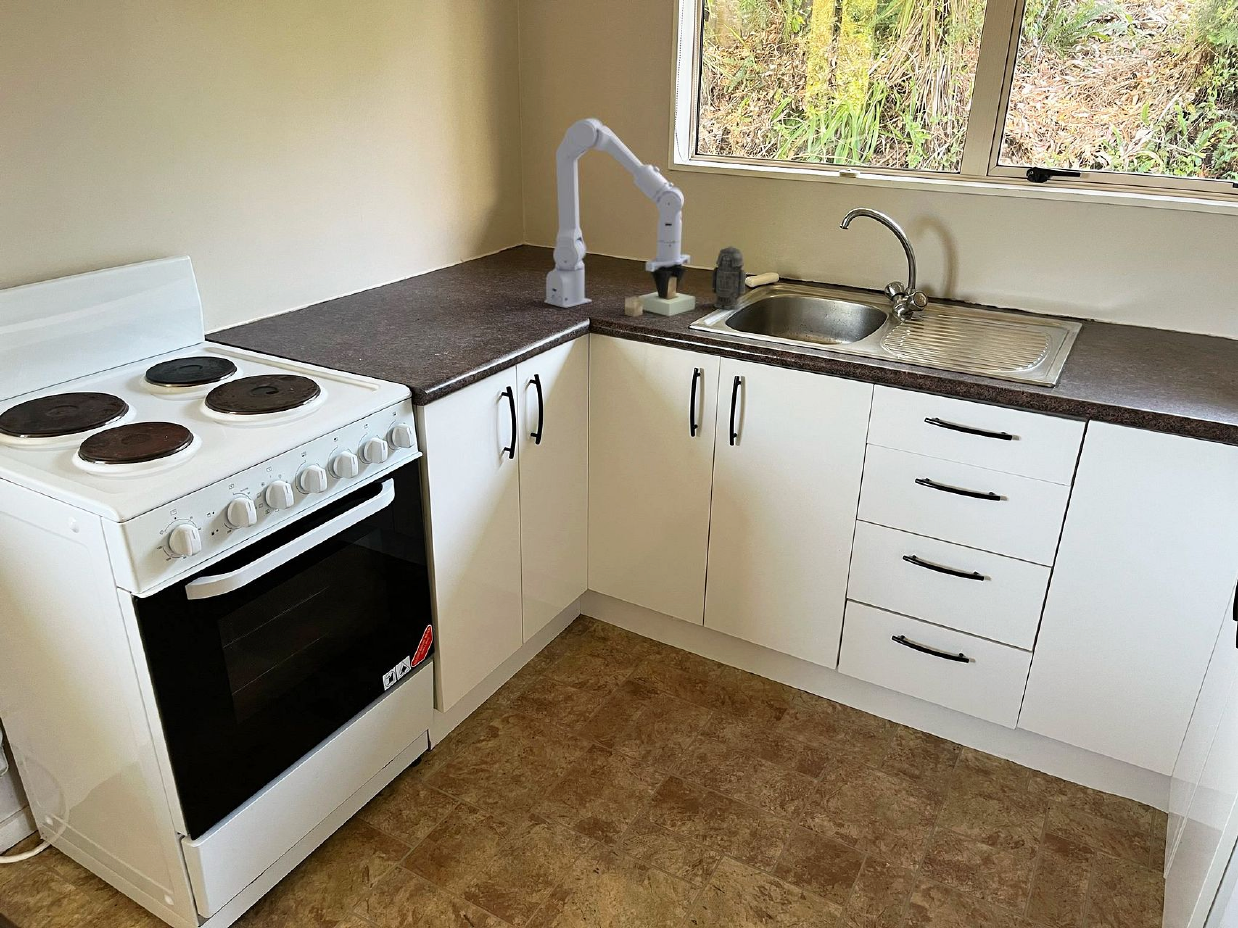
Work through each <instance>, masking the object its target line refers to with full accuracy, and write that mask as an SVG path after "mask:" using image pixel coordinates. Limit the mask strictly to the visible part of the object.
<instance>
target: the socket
mask: <svg viewBox="0 0 1238 928" xmlns="http://www.w3.org/2000/svg"><path fill="white" fill-rule="evenodd" d="M637 297H639V298H643V309H642V311H648V312H652V313H654V314H659V315H663V316H666V317H670V316H675V315H678V314H681V313H685V312H688V311H692V310H695V309H696V296H692V295H688V294H685V293H679V292H676V298H674V299H670V300H666V299H662V298H658V297H659V296H658V292H657V291H655V292H652V293H648V294H643V295H639V296H637Z"/></svg>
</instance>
